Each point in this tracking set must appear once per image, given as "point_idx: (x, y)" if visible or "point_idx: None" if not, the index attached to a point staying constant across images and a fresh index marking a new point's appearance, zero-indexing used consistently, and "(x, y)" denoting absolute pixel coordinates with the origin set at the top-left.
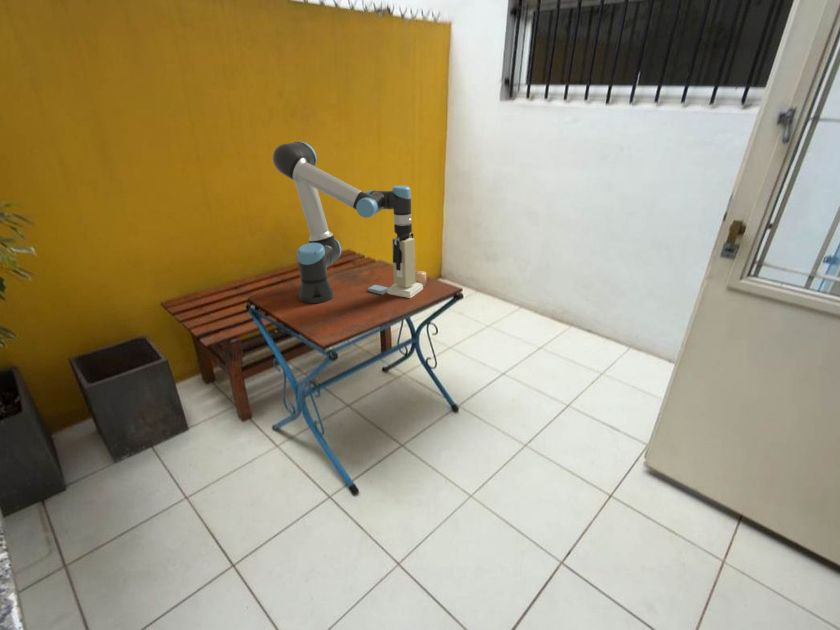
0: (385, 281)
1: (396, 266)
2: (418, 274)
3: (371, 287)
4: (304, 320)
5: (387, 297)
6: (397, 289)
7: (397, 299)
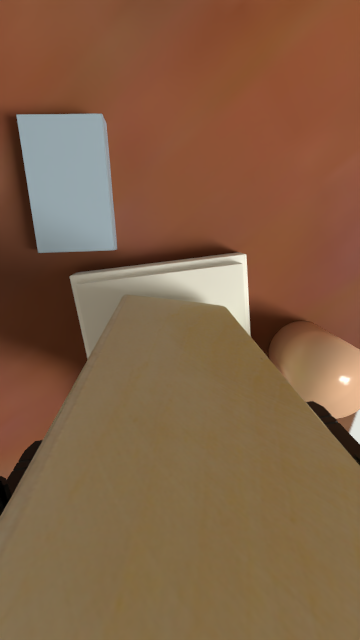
0: (241, 109)
1: (10, 479)
2: (302, 390)
3: (40, 131)
4: None
5: (35, 308)
6: (90, 350)
7: (52, 371)
